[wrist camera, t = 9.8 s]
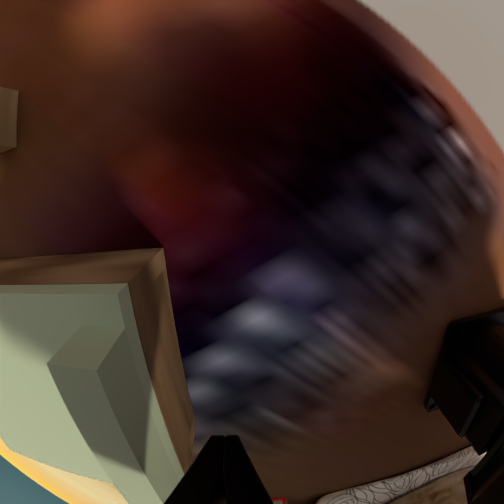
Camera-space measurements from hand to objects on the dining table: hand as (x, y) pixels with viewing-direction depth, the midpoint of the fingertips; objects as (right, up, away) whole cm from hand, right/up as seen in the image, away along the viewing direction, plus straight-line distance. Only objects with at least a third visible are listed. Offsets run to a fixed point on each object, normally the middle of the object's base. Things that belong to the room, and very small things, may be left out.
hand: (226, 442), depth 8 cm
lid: (-8, 0, +1) cm, 8 cm away
